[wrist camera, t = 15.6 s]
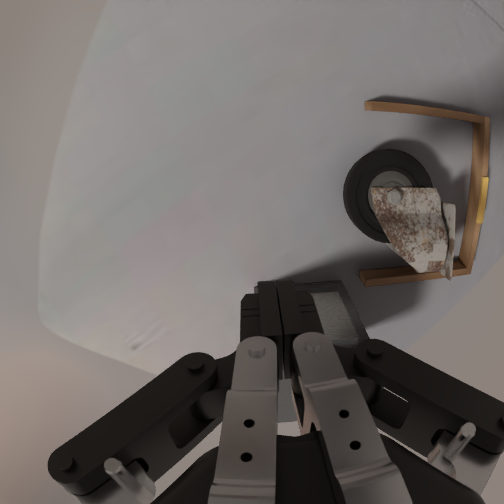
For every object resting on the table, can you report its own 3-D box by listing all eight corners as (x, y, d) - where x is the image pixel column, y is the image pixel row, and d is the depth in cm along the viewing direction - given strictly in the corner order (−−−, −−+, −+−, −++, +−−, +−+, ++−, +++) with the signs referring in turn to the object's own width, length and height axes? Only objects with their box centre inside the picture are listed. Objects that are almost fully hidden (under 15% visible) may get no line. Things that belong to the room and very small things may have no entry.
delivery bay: (364, 101, 25) (374, 101, 23) (478, 115, 25) (491, 117, 22) (359, 277, 32) (366, 288, 30) (461, 266, 32) (471, 275, 30)
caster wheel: (338, 153, 29) (430, 154, 28) (341, 265, 32) (430, 262, 30) (347, 145, 23) (459, 150, 21) (350, 286, 25) (456, 281, 24)
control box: (253, 284, 32) (257, 366, 22) (341, 277, 32) (378, 353, 22) (258, 348, 36) (262, 430, 25) (335, 341, 36) (360, 418, 25)
